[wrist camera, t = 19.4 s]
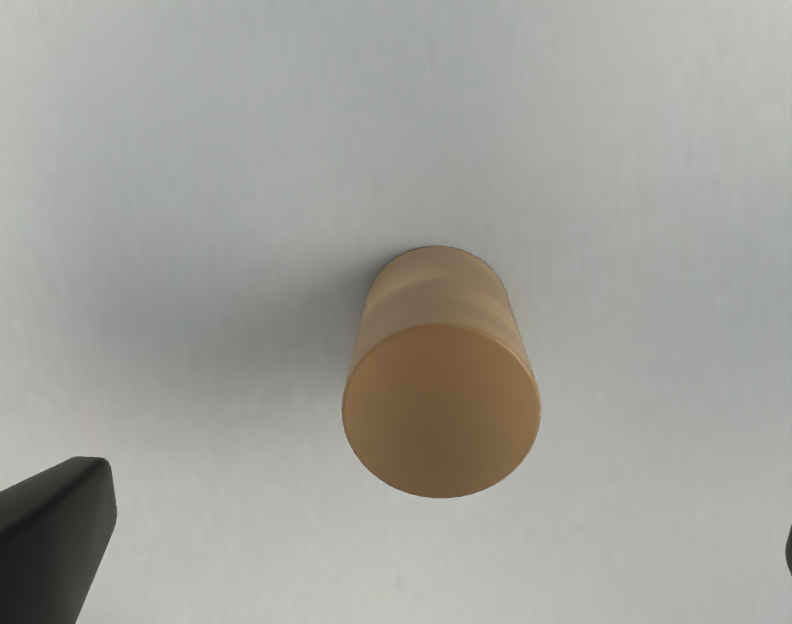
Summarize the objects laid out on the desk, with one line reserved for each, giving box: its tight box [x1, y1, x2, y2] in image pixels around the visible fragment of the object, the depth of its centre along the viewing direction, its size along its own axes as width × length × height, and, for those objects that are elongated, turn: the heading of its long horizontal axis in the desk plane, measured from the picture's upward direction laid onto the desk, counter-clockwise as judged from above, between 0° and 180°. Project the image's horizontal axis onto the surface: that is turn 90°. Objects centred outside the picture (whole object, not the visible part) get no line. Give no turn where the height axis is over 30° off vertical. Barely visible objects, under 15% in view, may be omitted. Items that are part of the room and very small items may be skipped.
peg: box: [342, 246, 541, 498], centre depth 13 cm, size 3×3×4 cm
